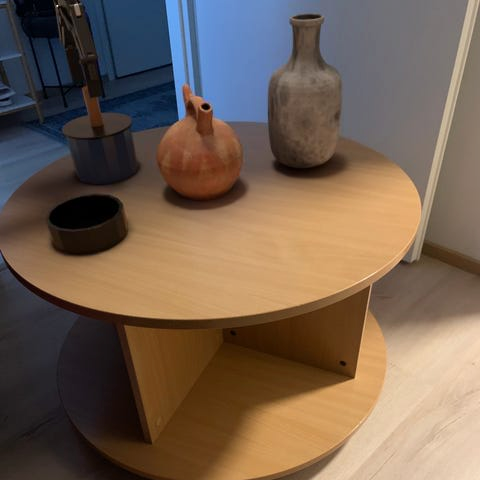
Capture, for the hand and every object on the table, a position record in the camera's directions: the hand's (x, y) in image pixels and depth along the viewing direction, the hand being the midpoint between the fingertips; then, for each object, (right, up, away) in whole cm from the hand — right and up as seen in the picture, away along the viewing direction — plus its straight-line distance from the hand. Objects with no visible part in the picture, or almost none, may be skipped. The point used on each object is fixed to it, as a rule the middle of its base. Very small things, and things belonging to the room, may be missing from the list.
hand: (87, 89), depth 109 cm
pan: (+4, -33, -10) cm, 35 cm away
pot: (+1, -14, +12) cm, 19 cm away
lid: (+1, -6, +5) cm, 8 cm away
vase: (+48, -13, +9) cm, 51 cm away
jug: (+25, -21, +2) cm, 33 cm away
